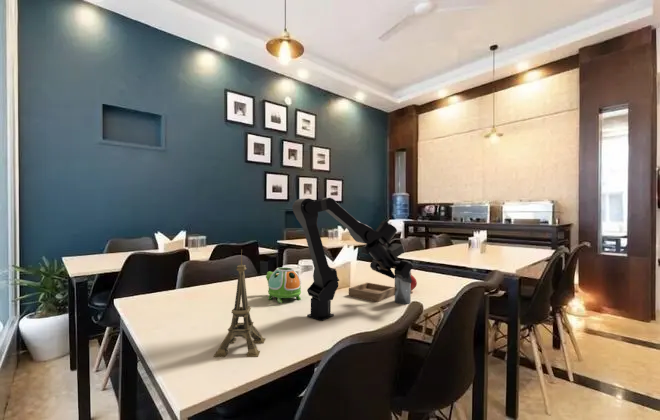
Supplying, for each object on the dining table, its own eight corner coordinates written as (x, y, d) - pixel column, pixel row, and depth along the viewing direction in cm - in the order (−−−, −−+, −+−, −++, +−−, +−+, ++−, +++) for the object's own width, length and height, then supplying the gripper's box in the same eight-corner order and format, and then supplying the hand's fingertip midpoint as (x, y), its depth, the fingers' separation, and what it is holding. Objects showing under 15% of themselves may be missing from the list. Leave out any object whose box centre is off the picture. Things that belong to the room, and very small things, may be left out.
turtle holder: (280, 290, 140) (280, 263, 140) (307, 299, 127) (307, 269, 127) (255, 296, 131) (255, 266, 131) (281, 305, 118) (281, 273, 118)
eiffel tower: (265, 339, 88) (265, 247, 88) (258, 357, 77) (258, 252, 77) (226, 339, 87) (226, 246, 87) (213, 357, 77) (213, 252, 77)
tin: (406, 305, 120) (406, 266, 120) (391, 302, 123) (391, 265, 123) (413, 301, 124) (413, 264, 124) (398, 298, 128) (399, 263, 128)
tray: (378, 301, 124) (378, 294, 124) (348, 295, 132) (348, 288, 132) (395, 294, 134) (395, 287, 134) (367, 289, 143) (367, 282, 143)
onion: (401, 291, 139) (401, 273, 139) (404, 289, 144) (404, 271, 144) (414, 293, 136) (415, 274, 136) (417, 290, 141) (418, 272, 141)
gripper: (409, 238, 113) (431, 267, 118) (376, 235, 129) (397, 260, 135) (391, 263, 109) (415, 291, 115) (359, 256, 125) (382, 281, 131)
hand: (402, 279), depth 124 cm, fingers open, 9 cm apart
